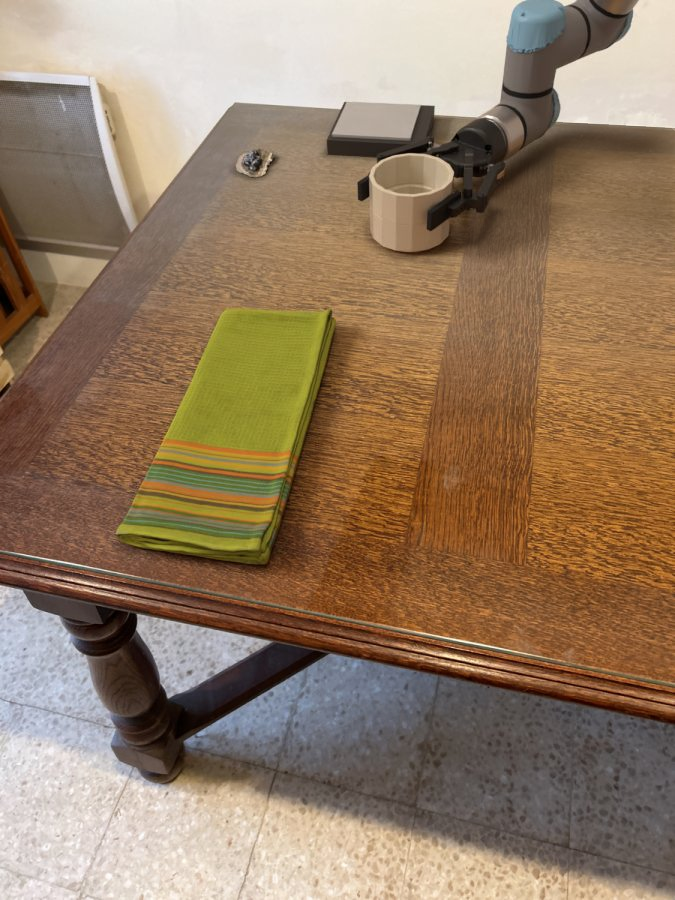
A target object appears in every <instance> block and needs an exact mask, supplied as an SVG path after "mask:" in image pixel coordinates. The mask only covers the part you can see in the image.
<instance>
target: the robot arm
mask: <svg viewBox="0 0 675 900" xmlns="http://www.w3.org/2000/svg"><path fill="white" fill-rule="evenodd" d="M639 1H640V0H574V2H572V3H570V4H567V5H564V4H563V3H562V2H560V1H558V0H523V1H520V2H519V3H518V4H516V5H515V7H514V8H513V10H512V11H511V16H510V21H509V22H510V23H509V25H508V26H509V27H508V31H507V35H506V48H505V55H504V56H505V58H504V66H503V75H502V85H501V89H500V91H501V92H500V99H499V103H498V104H496V105H495V106H494V107H491V108H490V109H488V110H487V111H485V112H484V113H482V114H480V115H479V116H477V117H476V118H475V119H473V120H472V121H471V122H470V121H469V123H467V124H465V125H464V126H463V127H461V128H459V130H457V131H456V133H455V134H454V135H453V137H452V139H451V140H449V141H448V142H444V143H442V144H438V143H436V142H435V137H434V136H433V135H430V136H428V137H426V138H424V139H423V140H421V141H419V142H416V143H412V144H409V145H406V146H402V147H399V148H396V149H392V150H389V151H386V152H382V153H379V154H377V157H376V164H377V163H378V162H380V161H381V160H383V159H386V158H388V157H391V156H394V155H400V154H407V153H415V154H427V155H431V156H434V157H438V158H440V159H442V160H443V161H445V162H447V163H448V164H450V166H451V168H452V170H453V171H454V179H462V191H461V190H458V189H457V190H455V191H454V192H453V193H452V194H451V195H450V196H448V197H447V198H445V199H444V200H443V201H441V202H440V203H438V204H437V205H436V206H434V207H433V208H431V209H430V210H428V211H427V229H426V230H429V231H432V230H434V229H435V228H436V227H438V226H439V225H441V224H442V223H443V222H445V221H446V220H447V219H449V218H451V219H455V218H457V217H459V216H460V215H461V214H463V213H464V212H469V211H471V210H475V213H477V214H484V213H485V211H486V209H487V207H488V205H489V203H490V201H491V198H492V196H493V194H494V191H495V189H496V187H497V186H498V185H499V184H501V183H502V182H503V181H504V178H505V177H504V176H505V171H506V170H505V169H506V161H507V160H509V159H510V158H511V157H513V156H514V155H515V154H516V155H517V153H519V152H520V151H521V150H523V149H525V148H526V147H527V146H529V145H530V144H532V143H533V142H534V141H537V140H538V139H541V138H542V137H543V136H544V135H545V134H546V133H547V132H548V131H549V130H550V129H551V128H552V127H553V126H554V125H555V124H556V122H557V121H558V119H559V117H560V113H561V110H562V109H561V101H560V98H559V93H558V92H557V90H556V89H555V88H554V84H555V78H556V73H557V70H559V69H560V68H562V67H564V66H567V65H569V64H571V63H573V62H576V61H578V60H581V59H584V58H586V57H589V56H590V55H593V54H595V53H597V52H601V51H604V50H606V49H608V48H610V47H612V46H613V45H614V44H616V43H618V42H619V41H621V40H622V39H623V38H624V37H626V35H627V33H628V32H629V31H630V28H631V26H632V22H633V21H632V20H633V18H634V8H635V7H636V6H637V4H638V3H639ZM370 172H371V171H369V172H368V173H367V175H365V176H364V177H362V179H359V180H358V181H356V182H357V201H360V202H364V201H365V200H367V199H368V198H370V193H369V175H370ZM482 177H484V179H483V182H482V184H481V186H480V187H479V189H478V191H477V194H475V193H474V192H473V191H474V186H473V185H474V184H473V183H474V178H482Z"/></svg>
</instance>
